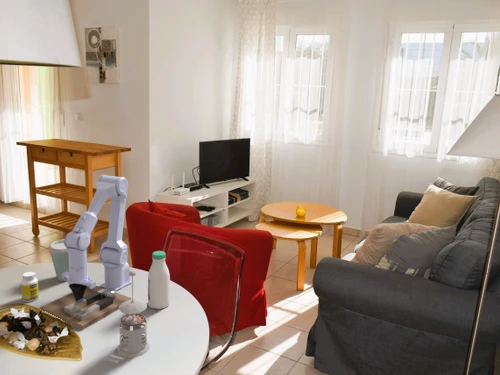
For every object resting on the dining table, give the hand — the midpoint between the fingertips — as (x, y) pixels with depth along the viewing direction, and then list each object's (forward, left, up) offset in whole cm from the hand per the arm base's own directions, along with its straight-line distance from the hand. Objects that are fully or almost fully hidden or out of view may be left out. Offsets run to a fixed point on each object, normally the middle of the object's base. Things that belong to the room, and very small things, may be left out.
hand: (79, 301), depth 147 cm
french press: (+7, +31, -3) cm, 32 cm away
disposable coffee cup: (-13, -24, -3) cm, 28 cm away
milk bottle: (-17, +21, -3) cm, 27 cm away
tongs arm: (-2, +4, -1) cm, 4 cm away
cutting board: (-2, +1, -3) cm, 4 cm away
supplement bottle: (+5, -20, -3) cm, 21 cm away
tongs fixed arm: (0, +7, -1) cm, 7 cm away
